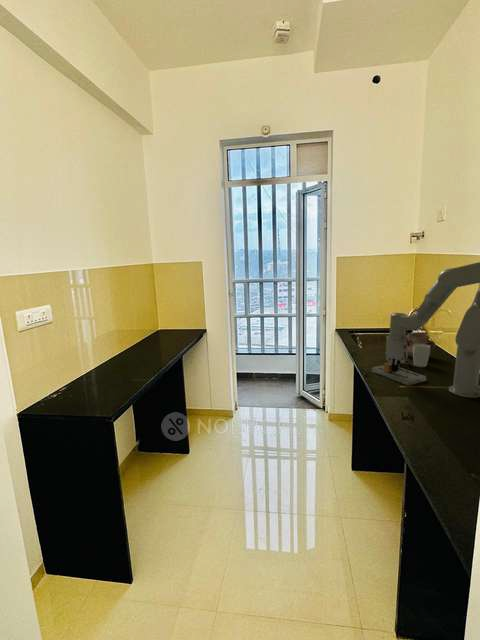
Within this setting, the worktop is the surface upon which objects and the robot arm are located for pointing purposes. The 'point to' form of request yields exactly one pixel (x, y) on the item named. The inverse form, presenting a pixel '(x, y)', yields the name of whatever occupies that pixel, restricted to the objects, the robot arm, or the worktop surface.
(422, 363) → the cup
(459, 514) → the worktop surface
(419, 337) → the ceramic jug
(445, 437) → the worktop surface
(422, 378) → the console
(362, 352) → the worktop surface
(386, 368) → the fader orange
